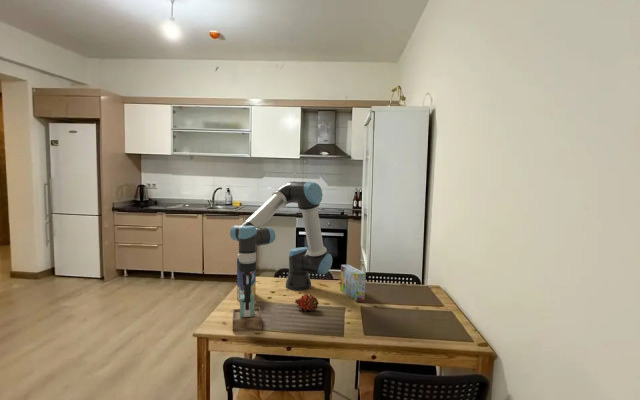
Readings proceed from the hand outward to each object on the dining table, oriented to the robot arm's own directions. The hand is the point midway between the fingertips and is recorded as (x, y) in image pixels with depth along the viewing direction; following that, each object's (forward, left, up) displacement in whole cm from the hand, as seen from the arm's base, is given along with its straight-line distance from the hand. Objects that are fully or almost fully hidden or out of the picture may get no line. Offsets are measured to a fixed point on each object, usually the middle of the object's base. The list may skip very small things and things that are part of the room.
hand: (246, 313), depth 157 cm
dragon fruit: (-29, -12, -5) cm, 32 cm away
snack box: (-58, -30, -5) cm, 65 cm away
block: (0, 0, 0) cm, 0 cm away
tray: (0, 0, -5) cm, 5 cm away
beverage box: (0, -37, -5) cm, 37 cm away
